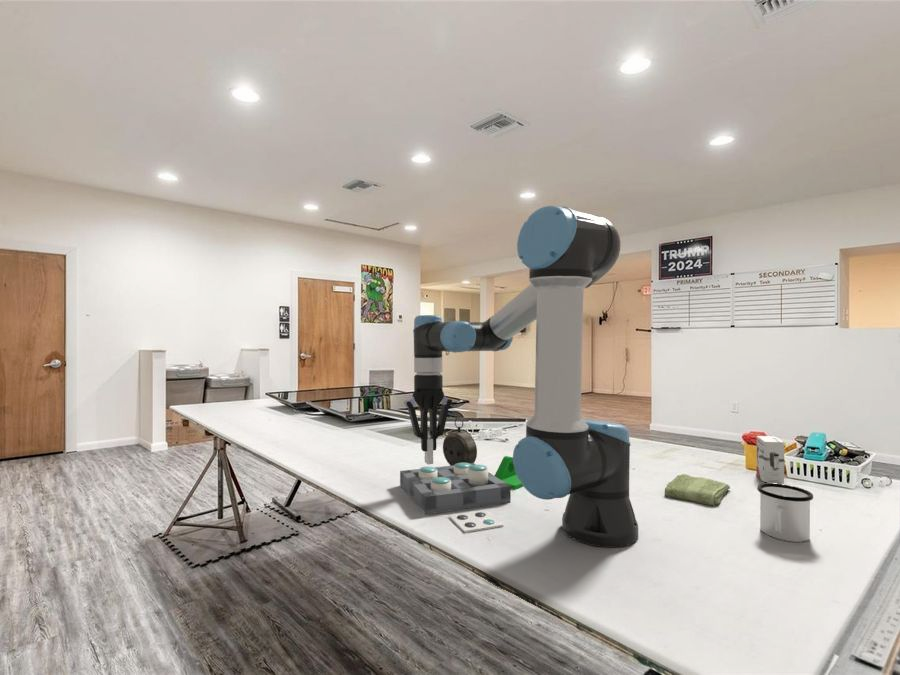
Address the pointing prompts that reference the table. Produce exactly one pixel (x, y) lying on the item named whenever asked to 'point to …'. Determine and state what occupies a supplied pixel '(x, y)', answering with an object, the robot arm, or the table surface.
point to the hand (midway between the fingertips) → (428, 462)
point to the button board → (453, 491)
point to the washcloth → (696, 489)
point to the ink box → (770, 459)
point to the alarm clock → (459, 447)
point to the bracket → (508, 473)
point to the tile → (475, 521)
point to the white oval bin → (785, 512)
